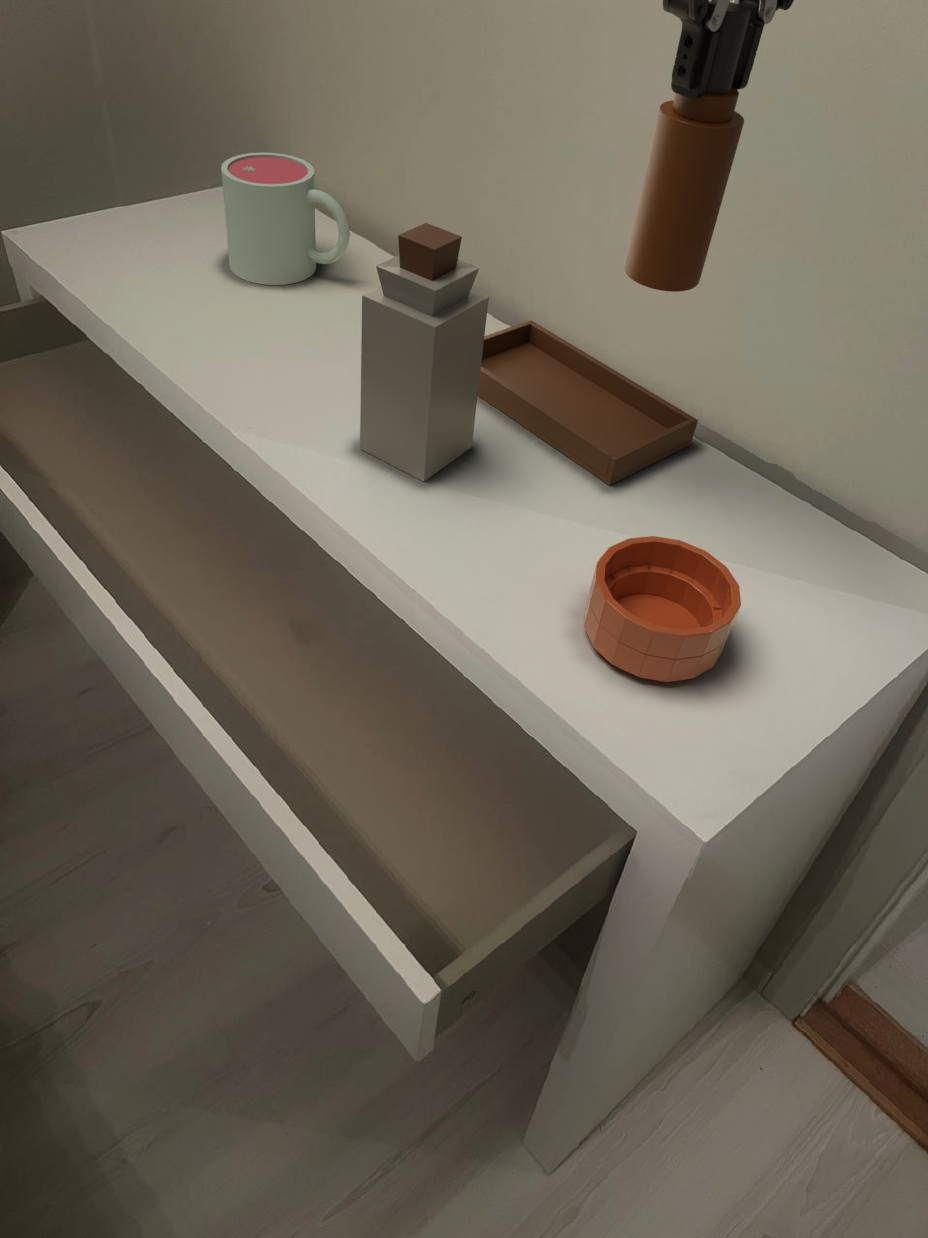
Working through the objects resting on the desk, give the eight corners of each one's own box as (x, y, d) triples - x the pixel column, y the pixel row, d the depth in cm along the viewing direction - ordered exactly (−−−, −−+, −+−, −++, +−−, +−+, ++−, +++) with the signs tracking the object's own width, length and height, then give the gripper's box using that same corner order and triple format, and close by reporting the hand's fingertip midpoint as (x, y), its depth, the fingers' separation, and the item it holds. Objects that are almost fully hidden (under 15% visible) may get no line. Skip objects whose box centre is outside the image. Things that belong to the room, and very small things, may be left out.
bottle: (697, 264, 71) (769, 2, 59) (700, 296, 67) (778, 23, 55) (624, 253, 71) (681, -10, 59) (623, 285, 67) (684, 9, 55)
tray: (690, 444, 83) (698, 419, 81) (609, 485, 77) (615, 459, 76) (527, 343, 93) (530, 319, 92) (445, 373, 88) (447, 348, 86)
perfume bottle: (409, 416, 82) (421, 208, 69) (471, 446, 80) (495, 237, 67) (359, 448, 78) (363, 234, 65) (423, 481, 75) (439, 265, 63)
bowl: (715, 600, 68) (735, 548, 65) (722, 698, 61) (745, 646, 58) (586, 579, 69) (599, 526, 65) (579, 674, 62) (593, 620, 58)
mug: (212, 270, 98) (202, 172, 92) (259, 240, 105) (253, 145, 98) (327, 304, 96) (326, 204, 89) (368, 270, 102) (370, 175, 95)
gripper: (783, -280, 43) (686, 124, 55) (931, -257, 50) (816, 93, 62) (658, -295, 46) (592, 87, 58) (813, -272, 54) (726, 62, 66)
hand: (708, 88), depth 60 cm, fingers closed on bottle, 4 cm apart
